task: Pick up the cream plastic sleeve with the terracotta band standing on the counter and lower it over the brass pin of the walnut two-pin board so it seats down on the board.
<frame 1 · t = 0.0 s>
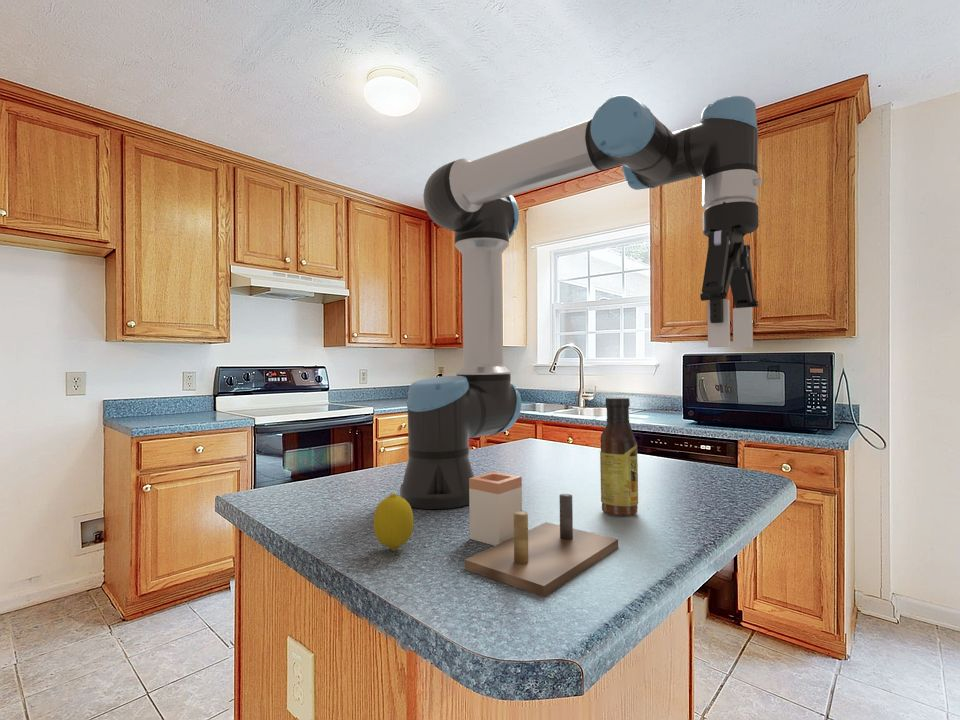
hand: (731, 348, 76), 28 cm above the countertop, fingers open, 13 cm apart
sauce bottle: (619, 513, 87), on the countertop
pin board: (545, 557, 67), on the countertop
sleeve: (496, 537, 75), on the countertop
lemon: (394, 552, 71), on the countertop
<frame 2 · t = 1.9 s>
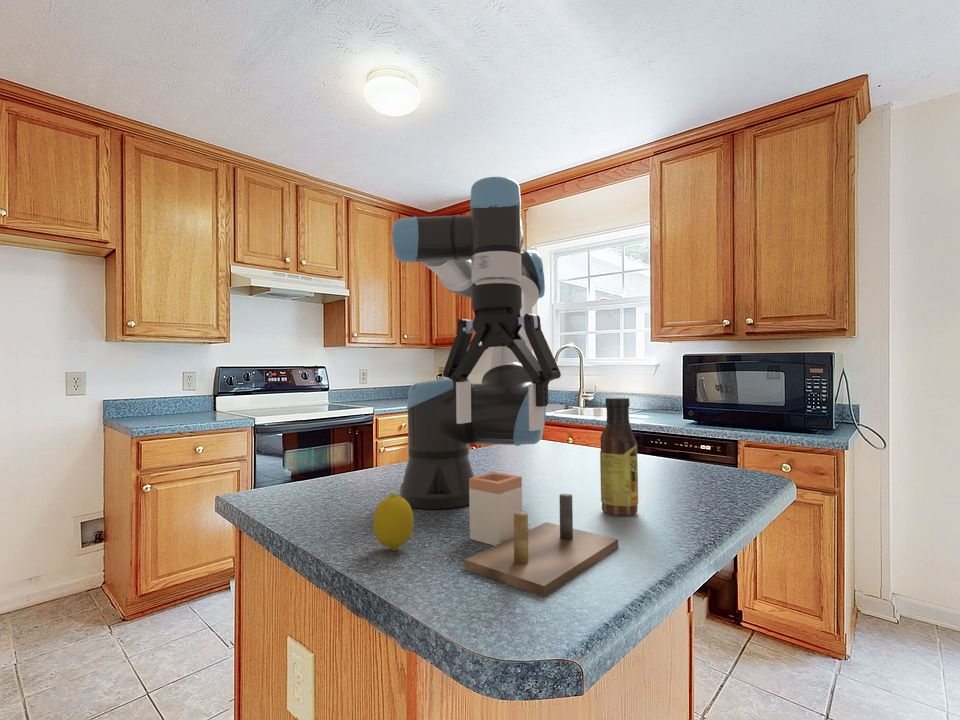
hand: (498, 426, 76), 17 cm above the countertop, fingers open, 13 cm apart
nothing on the countertop moved.
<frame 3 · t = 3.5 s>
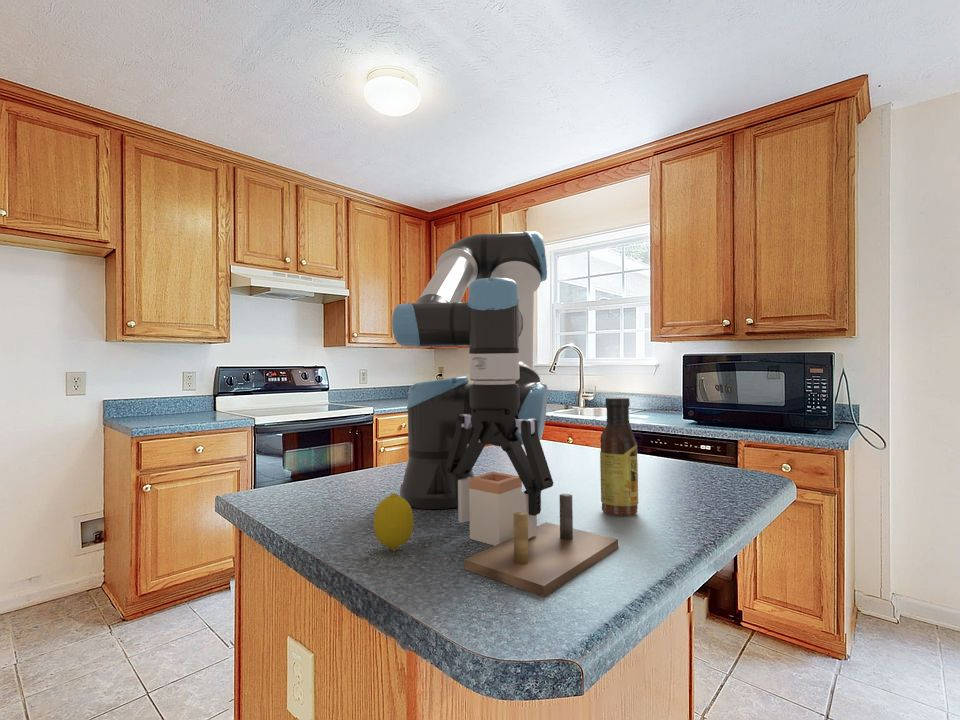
hand: (496, 528, 75), 1 cm above the countertop, fingers open, 11 cm apart
nothing on the countertop moved.
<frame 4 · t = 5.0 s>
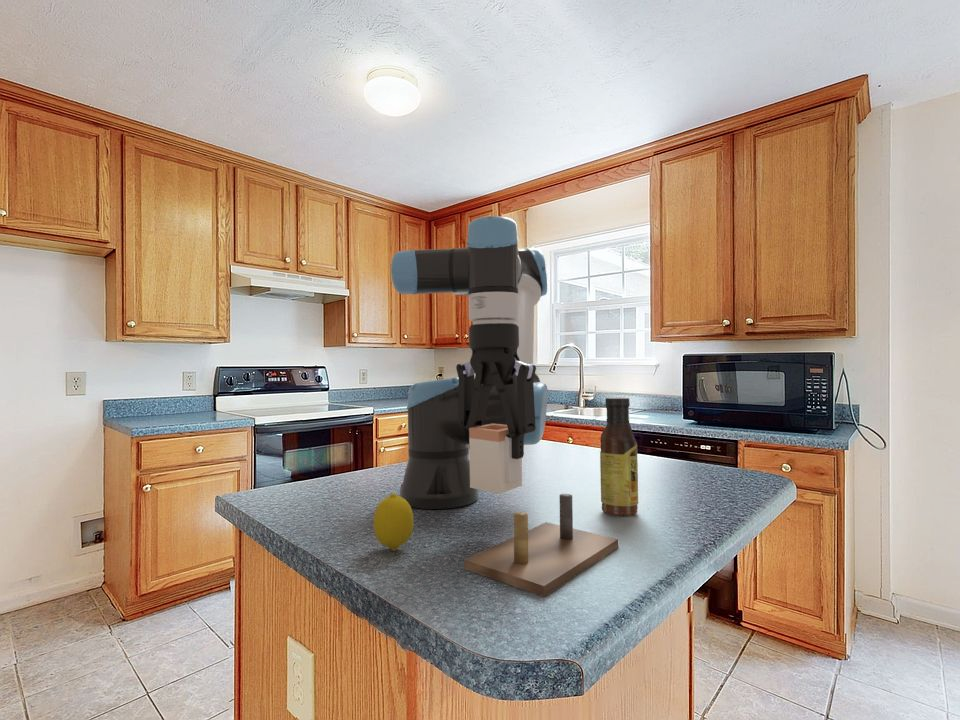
hand: (495, 476, 76), 9 cm above the countertop, fingers closed on sleeve, 6 cm apart
sleeve: (496, 486, 76), point 7 cm above the countertop, touching gripper
everything else where it was.
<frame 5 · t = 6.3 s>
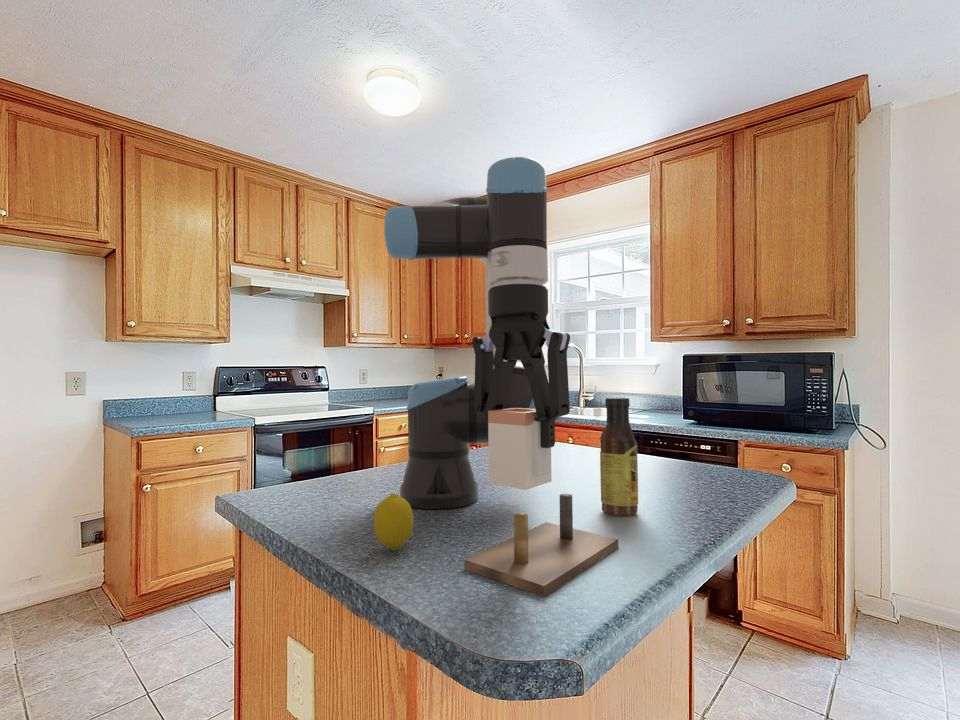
hand: (520, 470, 63), 13 cm above the countertop, fingers closed on sleeve, 6 cm apart
sleeve: (520, 482, 63), point 11 cm above the countertop, touching gripper
everything else where it was.
when the fingers open (3 cm above the countertop, at t = 8.1 s): sleeve stays where it is, resting on pin board.
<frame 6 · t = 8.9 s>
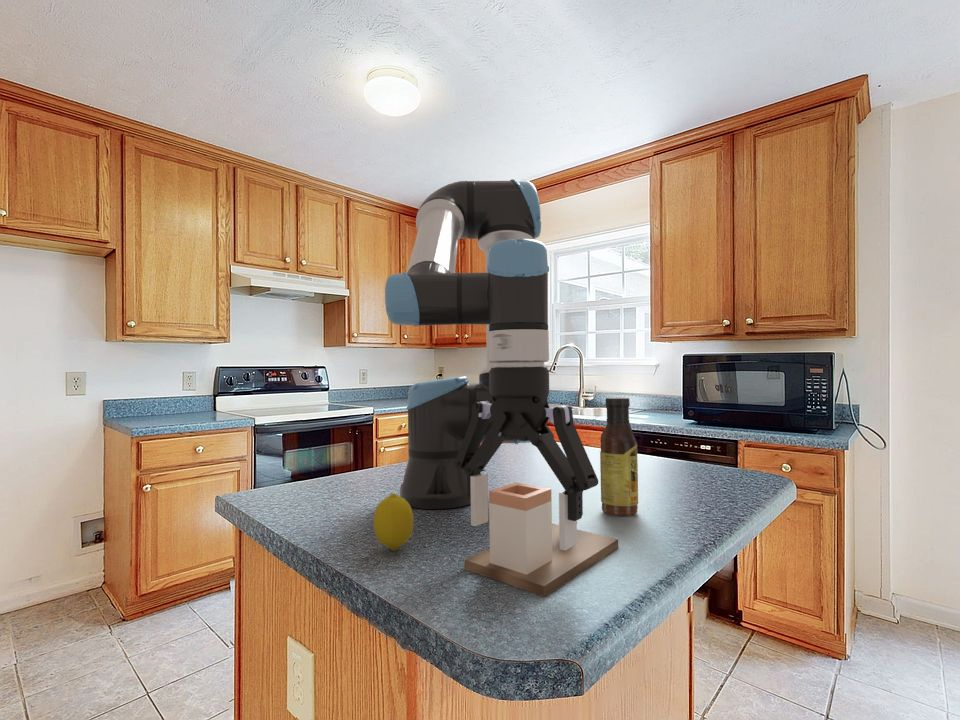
hand: (520, 534, 63), 5 cm above the countertop, fingers open, 13 cm apart
sleeve: (521, 561, 63), point 1 cm above the countertop, touching pin board
everything else where it was.
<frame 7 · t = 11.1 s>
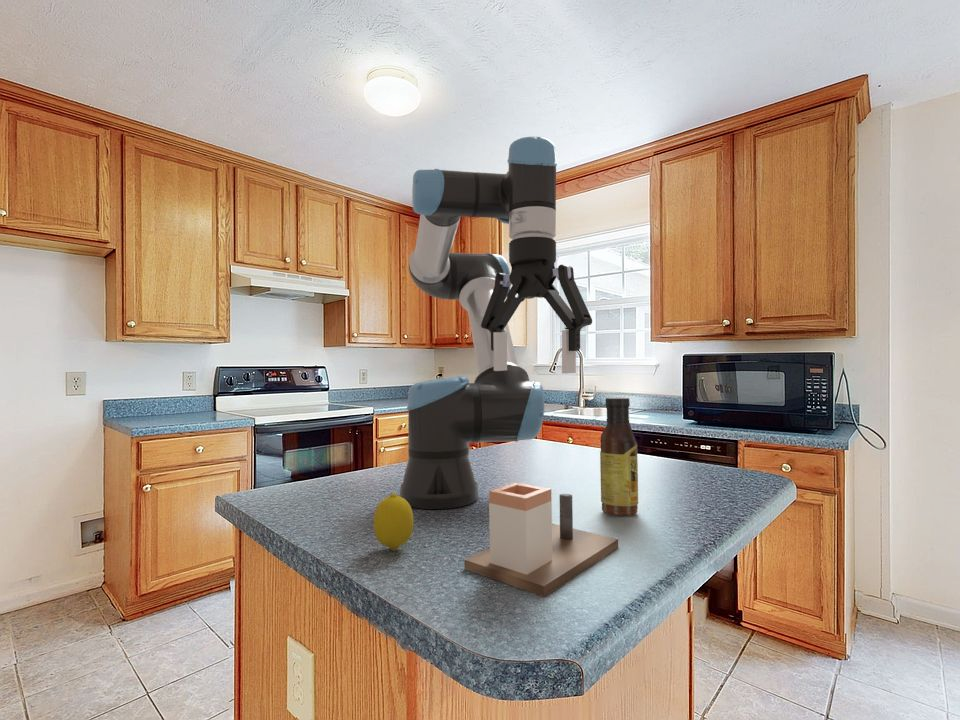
hand: (532, 372, 81), 25 cm above the countertop, fingers open, 13 cm apart
nothing on the countertop moved.
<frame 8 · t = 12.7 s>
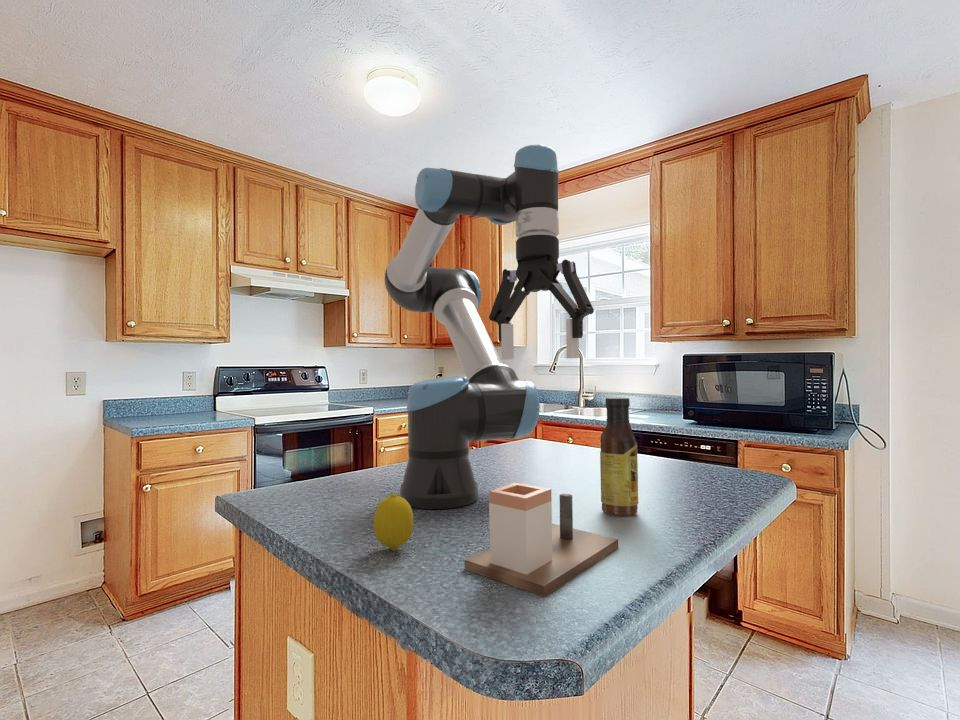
hand: (538, 359, 88), 27 cm above the countertop, fingers open, 13 cm apart
nothing on the countertop moved.
at the end: sleeve 0.0 cm from the target spot on the pin board, point 1.2 cm above the pin board's base; sleeve tilted 0°; the gripper is holding nothing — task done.
